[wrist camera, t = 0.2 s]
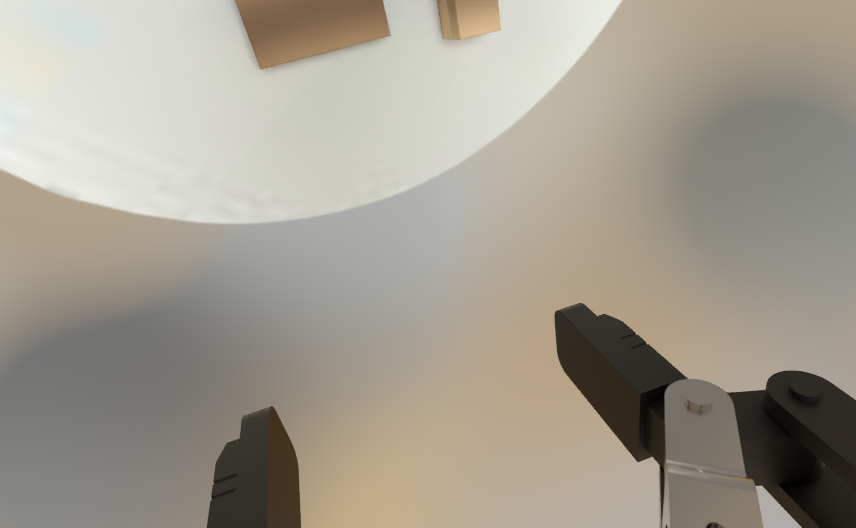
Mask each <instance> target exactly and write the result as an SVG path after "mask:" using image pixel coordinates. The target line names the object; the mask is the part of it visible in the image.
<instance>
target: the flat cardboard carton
mask: <svg viewBox="0 0 856 528" xmlns="http://www.w3.org/2000/svg"><path fill="white" fill-rule="evenodd" d="M235 1H236V4H237V7H238V9H239V12H240V15H241V18H242V20H243V23H244V26H245V29H246V31H247V34H248V37H249V40H250V42H251V45H252V48H253V51H254V53H255V56H256V59H257V62H258V64H259V67H260V69H264V68H268V67H272V66H276V65H279V64H283V63H287V62H291V61H295V60H299V59H302V58H306V57H310V56H314V55H318V54H322V53H326V52H329V51H333V50H337V49H341V48H345V47H349V46H352V45H356V44H360V43H364V42H368V41H372V40H376V39H379V38H383V37H387V36H391V35H390V31H389V27H388V22H387V18H386V14H385V9H384V5H383V1H382V0H235Z"/></svg>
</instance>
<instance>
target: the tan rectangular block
mask: <svg viewBox="0 0 856 528" xmlns="http://www.w3.org/2000/svg"><path fill="white" fill-rule="evenodd" d="M437 2H438V8H439V14H440V21H441V27H442V33H443V38H448V39H460V40H461V39H465V38H469V37H473V36H478V35H482V34H486V33H490V32H495V31H499V30H501V25H500V15H499V6H498V0H437Z"/></svg>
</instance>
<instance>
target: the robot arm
mask: <svg viewBox="0 0 856 528" xmlns="http://www.w3.org/2000/svg"><path fill="white" fill-rule="evenodd" d="M555 330H556V344H557V354H558V358H559V361H560V364H561V366H562V368H563V369H564V371H565V373H566V374H567V376H568V377H569V378H570V379H571V381H572V382H573V383H574V384H575V385H576V387H577V388H578V389H579V390H580V391H581V393H582V394H583V395H584V397H585V398H586V399H587V400H588V401H589V403H590V404H591V405H592V406H593V408H594V409H595V410H596V411H597V413H598V414H599V415H600V416H601V418H602V419H603V420H604V421H605V422H606V424H607V425H608V426H609V427H610V429H611V430H612V431H613V432H614V434H615V435H616V436H617V437H618V438H619V440H620V441H621V442H622V443H623V445H624V446H625V447H626V448H627V450H628V451H629V452H630V453H631V454H632V456H633V457H634V458H635V459H636V461H638V462H640V461H642V460H645V459H647V458H650V457H653V458H654V459H655V460H656V461H657V462H658V464H659V516H660V528H763V523H762V517H761V512H760V507H759V502H758V496H757V491H756V487H755V486H760V485H762V486H763V487H764V488H765V489H766V490H767V491H768V492H769V493H770V494H771V495H772V496H773V497H774V499H775V500H776V501H777V502H778V503H779V504H780V505H781V506H782V507H783V508H784V509H785V510H786V511H787V512H788V513H789V514H790V515H791V516H792V518H793V519H794V520H795V521H796V522H797V523H798V524H799V525H800V526H801V527H802V528H856V400H855V399H853V398H852V397H850V396H849V395H848V394H846V393H845V392H843V391H842V390H840V389H839V388H838V387H836V386H835V385H834V384H832V383H831V382H829V381H827V380H826V379H824V378H822V377H819V376H817V375H814V374H811V373H807V372H802V371H782V372H778V373H776V374H774V375H772V376H771V377H770V378H769V379H768V381H767V385H766V390H759V391H747V392H732V393H727V392H725V391H724V390H723V389H721V388H720V387H718V386H716V385H714V384H712V383H710V382H707V381H703V380H698V379H688V378H686V377H685V376H684V375H683V374H682V373H681V372H680V371H678V370H677V369H676V368H675V367H674V366H673V365H672V364H670V363H669V362H668V361H667V360H666V359H665V358H664V357H662V356H661V355H660V354H659V353H658V352H657V351H656V350H654V349H653V348H652V347H651V346H650V345H647V344H646V342H645V341H644V340H643V339H642V338H641V337H640V336H639V335H636V334H635V332H634V331H633V330H632V329H630V328H629V327H628V326H627V325H626V324H625V323H624V322H622V321H620V320H618V319H616V318H613V317H611V316H609V315H606V314H603V315H600V316H596V315H595V314H594V313H593V312H592V311H591V310H590V309H589V308H588V307H587V306H586V305H584V304H583V303H578V304H575V305H572V306H569V307H567V308H563V309H561V310H558V311H556V312H555ZM211 497H212V500H211V502H210V509H209V516H208V523H207V528H301V515H300V493H299V470H298V462H297V457H296V453H295V450H294V447H293V445H292V443H291V440H290V438H289V436H288V434H287V432H286V430H285V428H284V426H283V424H282V422H281V420H280V418H279V416H278V414H277V412H276V410H275V409H274V408H273V407H272V406H271V407H268V408H265V409H262V410H259V411H256V412H253V413H250V414H248V415H244V416H243V417H242V421H241V432H240V439H237V440H234V441H231V442H228V443H227V444H226V445H225V447H224V449H223V451H222V453H221V454H220V456H219V458H218V460H217V462H216V467H215V473H214V485H213V488H212V496H211Z"/></svg>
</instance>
